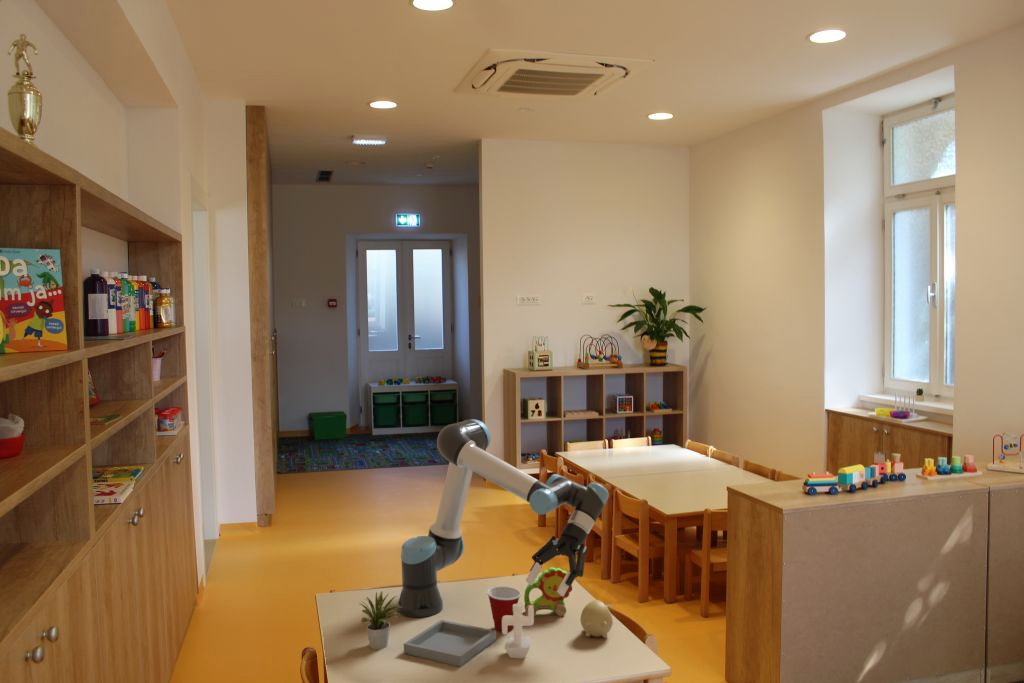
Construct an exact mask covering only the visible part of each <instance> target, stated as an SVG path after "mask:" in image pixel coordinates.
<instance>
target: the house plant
mask: <svg viewBox="0 0 1024 683" xmlns="http://www.w3.org/2000/svg"><path fill="white" fill-rule="evenodd" d="M383 593H384V592H383V591H380V593H379V595H378V591H376V593H375V602H374V603H375V604H374V603H373V601H372V600H371V599H370V598H369V597H368V596H366V599H363V600H365V601H366V600H367V602H368V604H369V605H370V607H369V606H368V605H367V604H366V603H365V602H364V601H362V600H361V602H359V605H360V606H362V607H363V608H364V609H362V610H361V612H362V613H364V614H366V615H367V616H368V617H369V618H367V617H361V620H360V622H361V624H363V623H366V622H369V623H368V624H367V625H366V632H367V636H368V641H369V646H370V648H371V649H373V650H382V649H386V648H387V647H388V644H389V636H390V628H391V623H390V622H388V621H387V620H389V619H390V618H398V616H397V615H399V612H398V611H392V610H395V609H398V606H396V605H394V604H395V602H393V600H394V599H396V598H397V597H398V595H396V596H393V597H392V598H391V599H389V601H388V602H387V603H386V604H385V606H383V605H384V603H385V600H386V599H387V597H388V596H389V593H387V595H385V596H384V597H383ZM390 611H392V612H390Z"/></svg>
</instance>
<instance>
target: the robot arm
mask: <svg viewBox="0 0 1024 683" xmlns="http://www.w3.org/2000/svg"><path fill="white" fill-rule="evenodd" d="M490 443H491V432H490V430H489V428H488V426H487V425H486V424H485V423H484V422H483V421H481V420H479V419H473V418H472V419H465V420H463V421H460V422H455V423H451V424H447V425H446V426H444V427H443V428H442V429H441V430H440V432H439V433H438V436H437V439H436V445H437V449H438V450H437V451H439V453H440V454H441V456H442V457H443V458H444V459H445V460H446V461H447V462H449V463H448V467H447V473H446V477H445V480H444V481H445V482H444V483H443V484H444V486H443V489H442V493H441V499H440V503H439V507H438V509H437V515H436V520H435V522H434V523H432V524H431V525H430V526H429V529H428V534H427V535H419V536H416V537H412V538H411V537H410V538H409V539H406V540H405V541H404V542H403V544H402V545H401V554H400V558H401V578H402V579H401V581H402V582H401V583H402V585H401V586H402V587H401V592H400V595H399V599H398V602H397V607H398V608H397V613H398V614H399V615H400V616H405V617H407V618H408V617H409V618H423V617H430V616H433V615H437V614H439V613H440V612H441V611H443V608H444V605H443V604H444V602H443V598H442V596H441V593H440V589H439V587H438V577H437V576H438V574H437V573H438V572H439V571H441V570H442V569H445V568H447V567H448V566H451V565H453V564H454V563H456V562H457V561H458V560H459V559H460V558H461V557H462V555H463V553H464V551H465V541H464V539H463V531H462V530H461V528H460V526H461V522H462V518H463V514H464V510H465V507H466V506H465V505H466V503H467V502H466V501H467V497H468V493H469V490H470V485H471V480H472V477H473V472H474V473H475V474H478V475H479V476H481V477H483V478H484V479H486V480H488V481H490V482H491V483H493V484H496V486H499V487H501V488H503V489H504V490H506V491H507V492H509V493H511V494H513V495H515V496H516V497H518V498H520V499H522V500H524V501H526V502H527V503H529V506H530V508H531V509H532V511H533V512H534V513H536V514H537V515H546V514H549V513H552V512H554V511H556V509H558V508H560V507H562V506H563V505H567V506H569V507H571V508H574V510H573V512H572V513H571V515H570V517H569V518H568V521H567V523H566V524H565V526H564V527H563V528H562V530H561V537H560V538H557V537H556V535H553V536H551V537H550V539H549V540H548V541H547V542H546V543H545V545H543V546H542V547H541V548H540V549H538V550H537V551H536V552H535V553H534V554H533V555H532V556H531V559H532V560H533V561H534V562H533V565H532V567H531V568H530V570H529V574H528V575H527V577H526V579H525V582H526V583H528V585H529V584H530V585H533V583H534V581H536V580H537V578H538V577H539V575H540V572H541V571H542V569H543V565H544V564H546V563H547V562H550V560H552V559H554V558H555V557H557V556H558V557H559V556H566V557H567V558H568V565H569V570H568V571H566V572H567V574H566V576H565V577H564V579H563V581H562V583H561V585H560V586H559V588H558V590H557V592H558V593H559V594H560V595H561V596H564V595H565V593H566V591H567V589H568V587H569V586H571V585H572V586H573V582H574V581H575V580H576V578H577V577H580V578H582V577H584V572H585V570H584V569H585V562H586V555H587V552H588V547H587V546H586V545H585V544H584V543H585V541H586V540H587V538H588V534H590V532H591V530H592V528H593V527H594V526H595V523H596V521H597V519H598V518H599V516H600V515H601V513H602V512H603V509H604V508H605V507H606V504H607V501H608V499H609V497H610V493H609V491H608V489H607V488H606V487H604V486H603V485H601V484H599V483H598V482H597V483H596V482H590V483H589V484H588V485H587V486H585V485H583V484H580V483H578V482H576V481H573V480H572V479H569V478H567V477H566V476H564V475H563V476H562V475H560V474H557V473H553V474H552V475H550V477H548V479H547V481H546V483H544V482H543V481H540V480H539V479H537V478H535V477H533V476H532V475H529V474H528V473H526V472H524V471H522V470H521V469H519V468H517V467H516V466H513V465H511V464H510V463H508V462H506V461H504V460H502V459H501V458H499V457H497V456H495V455H493V454H491V453H489V452H488V451H486V450H487V449H488V447H489V446H490Z"/></svg>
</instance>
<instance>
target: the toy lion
mask: <svg viewBox="0 0 1024 683" xmlns="http://www.w3.org/2000/svg"><path fill="white" fill-rule="evenodd" d="M567 572H568V571H566V570H563V569H561V568H560V567H556V568H555V567H554V566H551V567H549V568H548V569H545V570H543V571H542V573H541V574H539V575H538V577H537V578H538V579H535V581H534V583H533V585H530V584H529V583H528V585H527V586H526V588H525V590H524V595H523V596H524V597H523V599H524V612H525V616H528V608H529V607H530V606H532V607H533V608H534V616H535V615H536V614H537V612H538V611H542V610H547V611H548V610H549V611H553V612H555V614H556V615H557V616H559V617H563V616H564V615H566V613H567V608H566V604H565V601H564V600H565V599H567V598H568V597H569V596H570V593H571V592H572V591H573V584H572V585H571V586H569V587H568V589H567V591H566V593H565V595H564V596H561V595H560V594H559V593H558V592H557V590H558V588H559V586H560V585H561V583H562V581H563V579H564V577H565V576H566V574H567ZM533 589H537V590H538V589H539V590H540V591H541V593H542V595H540V596H538V597H537V598H536V599H534V601H533V600H531V599H530V594H531V593H530V592H531V591H532V590H533Z"/></svg>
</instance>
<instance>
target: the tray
mask: <svg viewBox="0 0 1024 683" xmlns="http://www.w3.org/2000/svg"><path fill="white" fill-rule="evenodd" d="M496 641H497V630H496V629H489V628H484V627H479V626H474V625H469V624H465V623H459V622H455V621H448V620H444V619H440V620H439V621H437V622H436V623H433V625H431V626H429V627H428V628H426V629H424V630H423V631H421V632H420V633H418V634H416V635H415V636H413V637H412V638H411V639H409V640H407V641H405V642H404V643H403V654H404V655H408V656H412V657H417V658H420V659H421V658H422V659H426V660H430V661H434V662H437V663H438V662H439V663H443V664H447V665H450V666H454V667H460V668H462V667H463V666H465V665H466V664H467V663H468V662H470V661H471V660H472V659H474V658H475V657H477V656H478V655H479V654H480V653H482V652H483V651H485V649H487V648H488V647H490V646H491V645H492V644H494V643H495V642H496Z"/></svg>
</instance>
